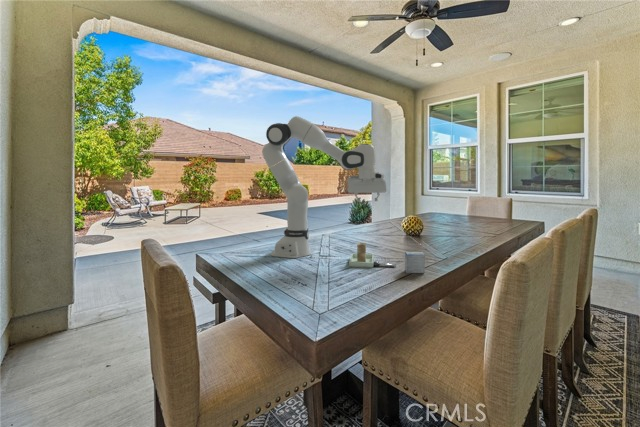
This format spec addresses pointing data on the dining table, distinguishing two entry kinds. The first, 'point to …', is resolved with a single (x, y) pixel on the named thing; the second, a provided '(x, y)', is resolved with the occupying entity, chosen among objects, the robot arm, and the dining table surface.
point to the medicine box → (414, 262)
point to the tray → (366, 264)
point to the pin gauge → (383, 265)
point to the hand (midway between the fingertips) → (367, 201)
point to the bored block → (361, 252)
